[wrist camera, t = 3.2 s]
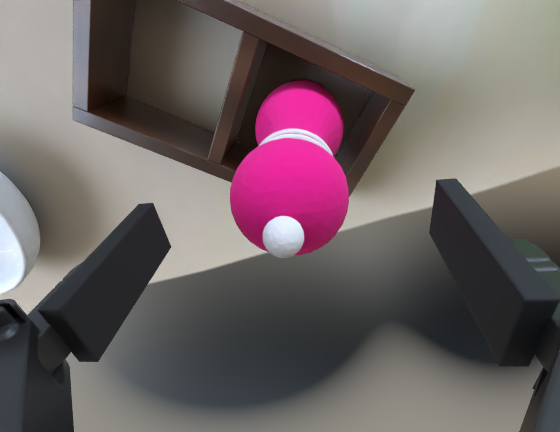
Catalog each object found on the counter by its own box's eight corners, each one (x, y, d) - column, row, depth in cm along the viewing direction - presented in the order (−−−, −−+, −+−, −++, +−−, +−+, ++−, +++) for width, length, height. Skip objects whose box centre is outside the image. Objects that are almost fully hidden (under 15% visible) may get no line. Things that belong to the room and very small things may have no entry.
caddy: (330, 191, 33) (333, 222, 28) (112, 102, 30) (72, 120, 25) (396, 75, 26) (415, 89, 21) (124, -54, 23) (73, -72, 18)
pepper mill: (333, 154, 31) (352, 320, 14) (261, 146, 31) (198, 299, 14) (347, 76, 27) (398, 179, 10) (265, 68, 27) (184, 154, 10)
